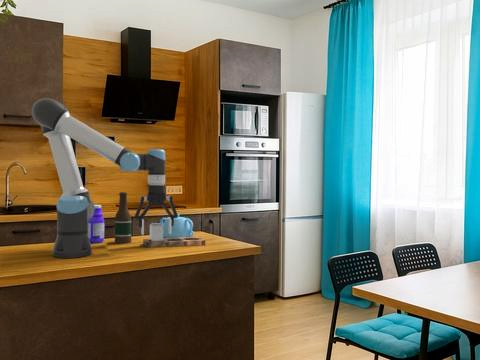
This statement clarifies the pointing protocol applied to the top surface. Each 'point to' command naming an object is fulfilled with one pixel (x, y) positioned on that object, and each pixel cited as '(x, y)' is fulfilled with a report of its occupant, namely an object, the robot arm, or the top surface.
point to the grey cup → (156, 232)
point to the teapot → (177, 227)
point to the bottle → (96, 226)
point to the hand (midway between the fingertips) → (156, 234)
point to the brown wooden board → (175, 242)
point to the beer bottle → (123, 221)
